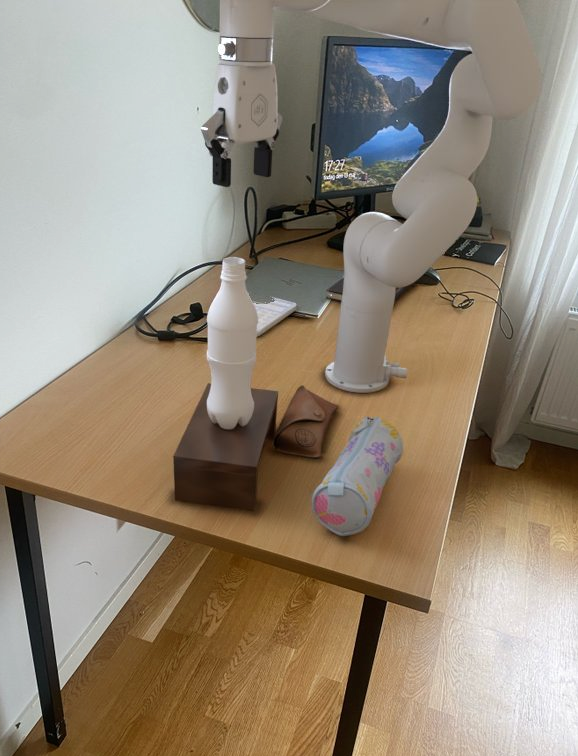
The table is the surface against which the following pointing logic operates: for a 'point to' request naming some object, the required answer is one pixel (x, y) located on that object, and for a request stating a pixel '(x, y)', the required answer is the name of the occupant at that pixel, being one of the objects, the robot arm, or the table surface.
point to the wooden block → (224, 455)
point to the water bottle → (231, 348)
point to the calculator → (272, 313)
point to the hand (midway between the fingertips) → (242, 180)
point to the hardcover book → (338, 291)
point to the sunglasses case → (304, 425)
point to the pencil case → (358, 477)
